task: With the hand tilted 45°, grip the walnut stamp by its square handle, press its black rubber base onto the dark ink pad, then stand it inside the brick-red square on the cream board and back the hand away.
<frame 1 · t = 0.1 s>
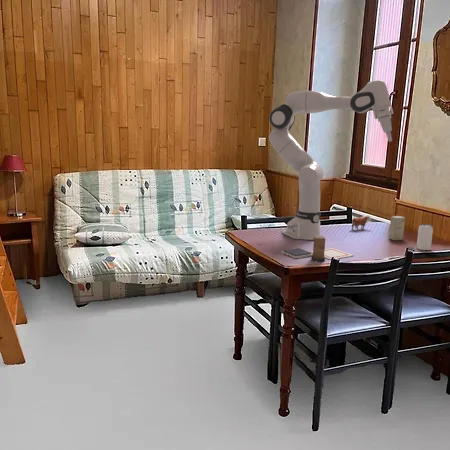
hand: (390, 140, 229), 52 cm above the table, tool tilted 20°, fingers open, 8 cm apart
ink pad: (297, 254, 218), on the table
marked board: (331, 254, 220), on the table
skincare box: (395, 239, 252), on the table
can: (423, 249, 233), on the table
bull figurine: (360, 229, 272), on the table
stamp: (318, 259, 211), on the table
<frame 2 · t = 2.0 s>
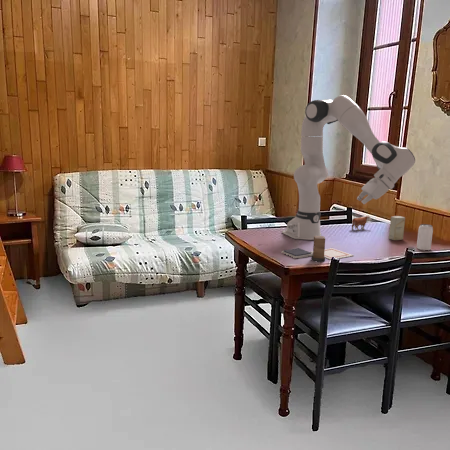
hand: (360, 201, 210), 26 cm above the table, tool tilted 45°, fingers open, 8 cm apart
nothing on the table moved.
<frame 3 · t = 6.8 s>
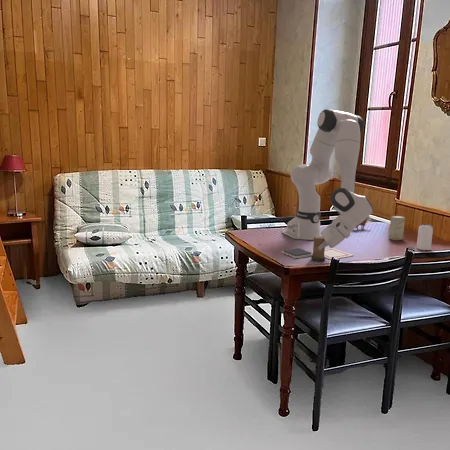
hand: (317, 247, 209), 6 cm above the table, tool tilted 45°, fingers closed on stamp, 4 cm apart
stamp: (318, 259, 211), on the table, touching gripper
everything else where it was.
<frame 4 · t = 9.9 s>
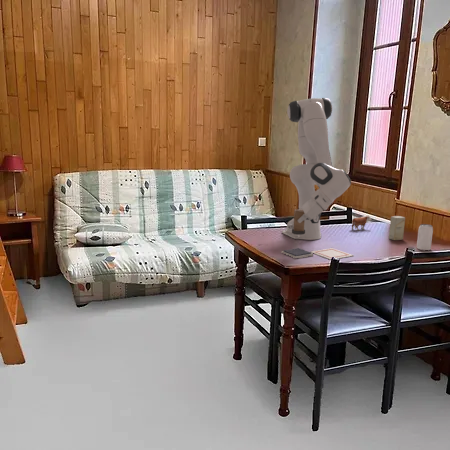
hand: (297, 220, 215), 16 cm above the table, tool tilted 45°, fingers closed on stamp, 4 cm apart
stamp: (298, 233, 216), point 10 cm above the table, touching gripper
everything else where it was.
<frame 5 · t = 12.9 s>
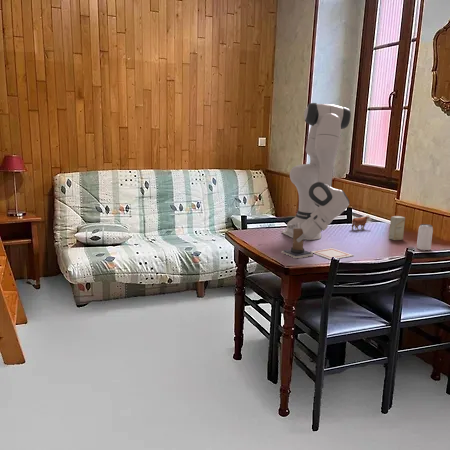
hand: (296, 239, 217), 7 cm above the table, tool tilted 45°, fingers closed on stamp, 4 cm apart
stamp: (297, 251, 218), point 1 cm above the table, touching gripper, ink pad
everything else where it was.
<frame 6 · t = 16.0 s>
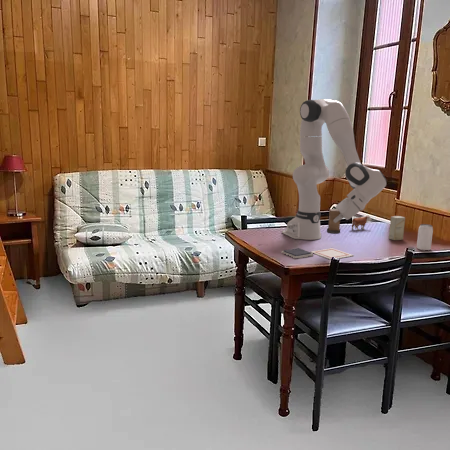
hand: (332, 220, 217), 16 cm above the table, tool tilted 45°, fingers closed on stamp, 4 cm apart
stamp: (333, 232, 218), point 11 cm above the table, touching gripper
everything else where it was.
when the fingers open (8 cm above the table, at t = 18.8 s): stamp drops 1 cm, resting on marked board.
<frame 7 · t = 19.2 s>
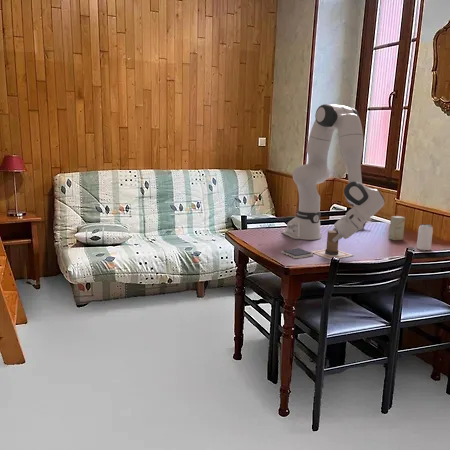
hand: (331, 238, 219), 8 cm above the table, tool tilted 45°, fingers open, 8 cm apart
stamp: (331, 253, 220), resting on marked board
everything else where it was.
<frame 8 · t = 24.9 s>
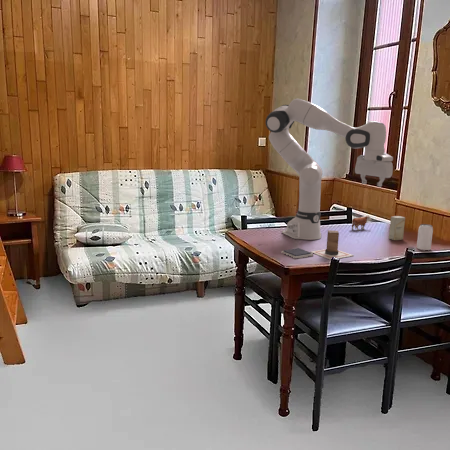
hand: (371, 185, 226), 31 cm above the table, tool pointing down, fingers open, 8 cm apart
nothing on the table moved.
at the end: stamp 0.0 cm off-centre on the marked board, point 0.4 cm above the marked board's base; stamp tilted 0°; the gripper is holding nothing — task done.
